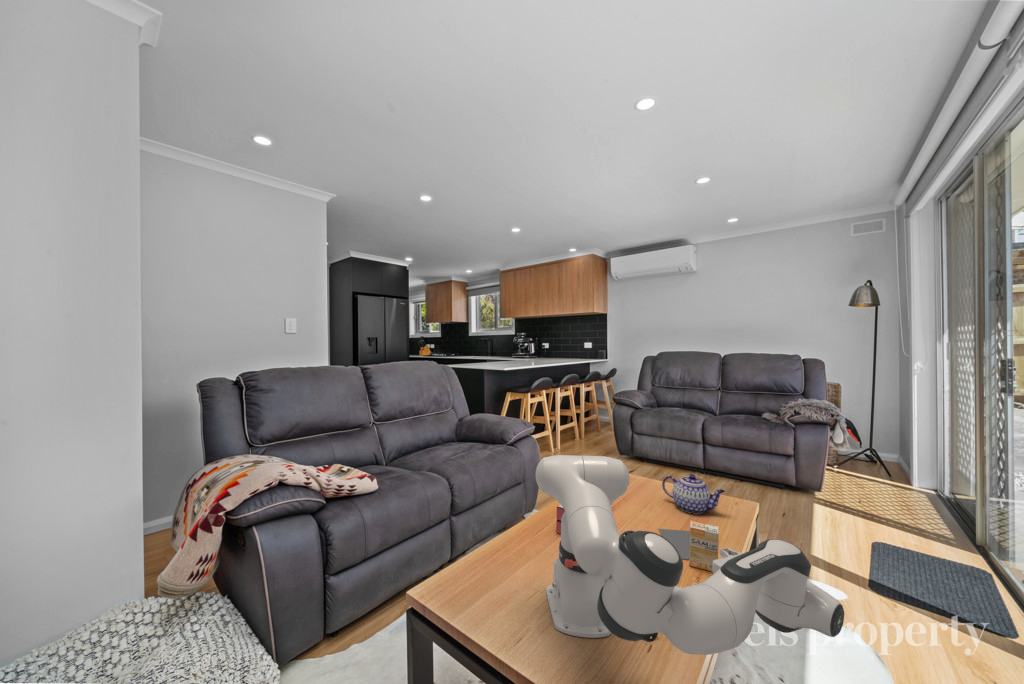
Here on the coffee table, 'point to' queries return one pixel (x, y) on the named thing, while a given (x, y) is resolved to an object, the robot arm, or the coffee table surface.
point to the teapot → (692, 494)
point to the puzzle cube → (559, 518)
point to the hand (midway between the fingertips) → (723, 551)
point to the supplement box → (703, 545)
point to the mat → (678, 541)
